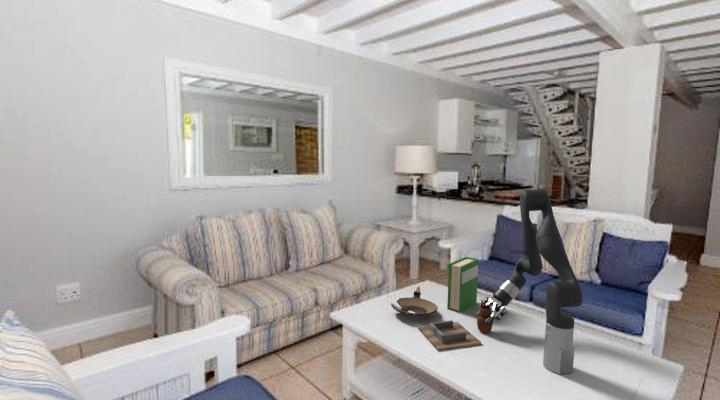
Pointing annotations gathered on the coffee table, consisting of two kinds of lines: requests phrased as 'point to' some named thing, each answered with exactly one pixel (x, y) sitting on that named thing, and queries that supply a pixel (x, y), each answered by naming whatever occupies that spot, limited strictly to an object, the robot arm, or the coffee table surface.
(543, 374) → the coffee table surface
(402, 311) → the oil lamp
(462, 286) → the hardback book
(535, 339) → the coffee table surface
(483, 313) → the wooden figurine
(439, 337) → the keeper cradle
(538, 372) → the coffee table surface
